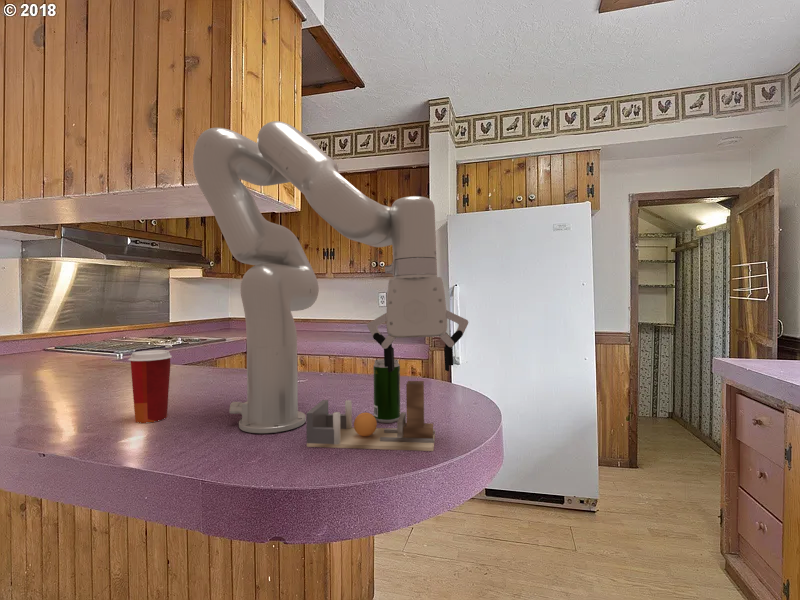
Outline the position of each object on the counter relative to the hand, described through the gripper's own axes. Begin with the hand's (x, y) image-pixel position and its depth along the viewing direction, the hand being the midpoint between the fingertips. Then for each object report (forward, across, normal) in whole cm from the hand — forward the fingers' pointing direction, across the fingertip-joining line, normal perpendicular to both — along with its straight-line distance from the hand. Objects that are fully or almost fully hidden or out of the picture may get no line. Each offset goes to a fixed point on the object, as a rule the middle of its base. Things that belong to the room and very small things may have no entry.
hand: (419, 370), depth 70 cm
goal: (+12, -16, 0) cm, 20 cm away
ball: (+9, -10, 0) cm, 13 cm away
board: (+12, -8, 0) cm, 15 cm away
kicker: (+11, -1, 0) cm, 11 cm away
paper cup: (+11, -57, +8) cm, 58 cm away
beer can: (+12, -8, +12) cm, 19 cm away
